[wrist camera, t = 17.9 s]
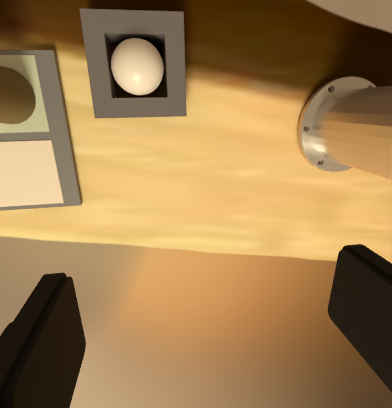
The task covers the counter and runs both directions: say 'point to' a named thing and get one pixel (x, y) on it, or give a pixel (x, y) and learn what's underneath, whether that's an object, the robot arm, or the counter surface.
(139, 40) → the cream white ball
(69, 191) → the game board
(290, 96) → the counter surface
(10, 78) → the brown pepper mill
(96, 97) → the gray square holder
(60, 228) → the counter surface
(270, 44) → the counter surface
